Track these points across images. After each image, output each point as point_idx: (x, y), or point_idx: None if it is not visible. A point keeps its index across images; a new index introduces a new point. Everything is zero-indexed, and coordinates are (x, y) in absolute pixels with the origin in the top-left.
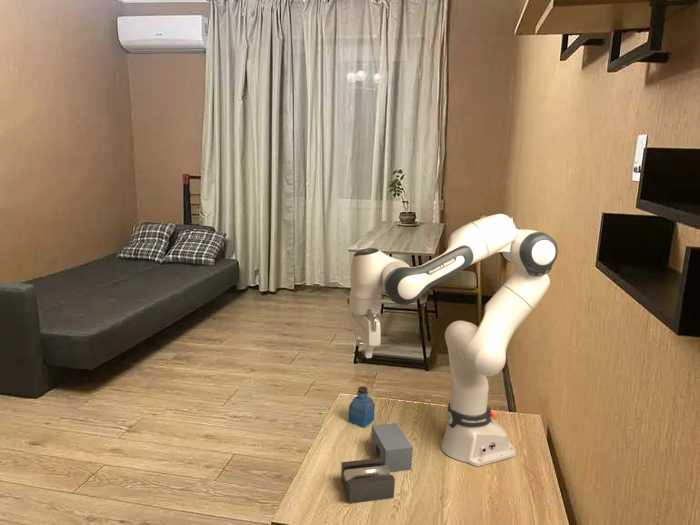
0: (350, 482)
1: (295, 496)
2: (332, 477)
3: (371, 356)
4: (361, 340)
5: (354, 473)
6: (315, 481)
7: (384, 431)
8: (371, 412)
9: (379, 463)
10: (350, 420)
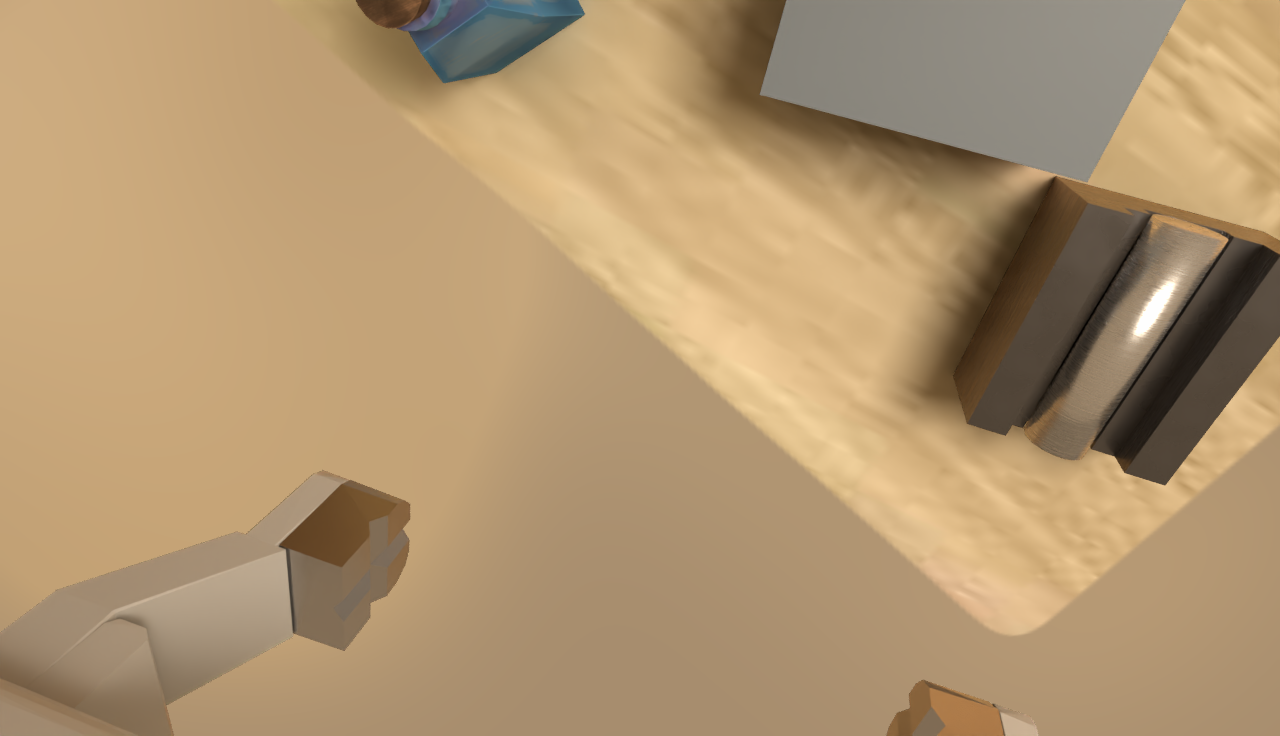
0: (1149, 475)
1: (934, 558)
2: (911, 393)
3: (1032, 734)
4: (345, 582)
5: (1101, 424)
6: (893, 461)
7: (878, 52)
8: None
9: (1112, 250)
10: (500, 67)
